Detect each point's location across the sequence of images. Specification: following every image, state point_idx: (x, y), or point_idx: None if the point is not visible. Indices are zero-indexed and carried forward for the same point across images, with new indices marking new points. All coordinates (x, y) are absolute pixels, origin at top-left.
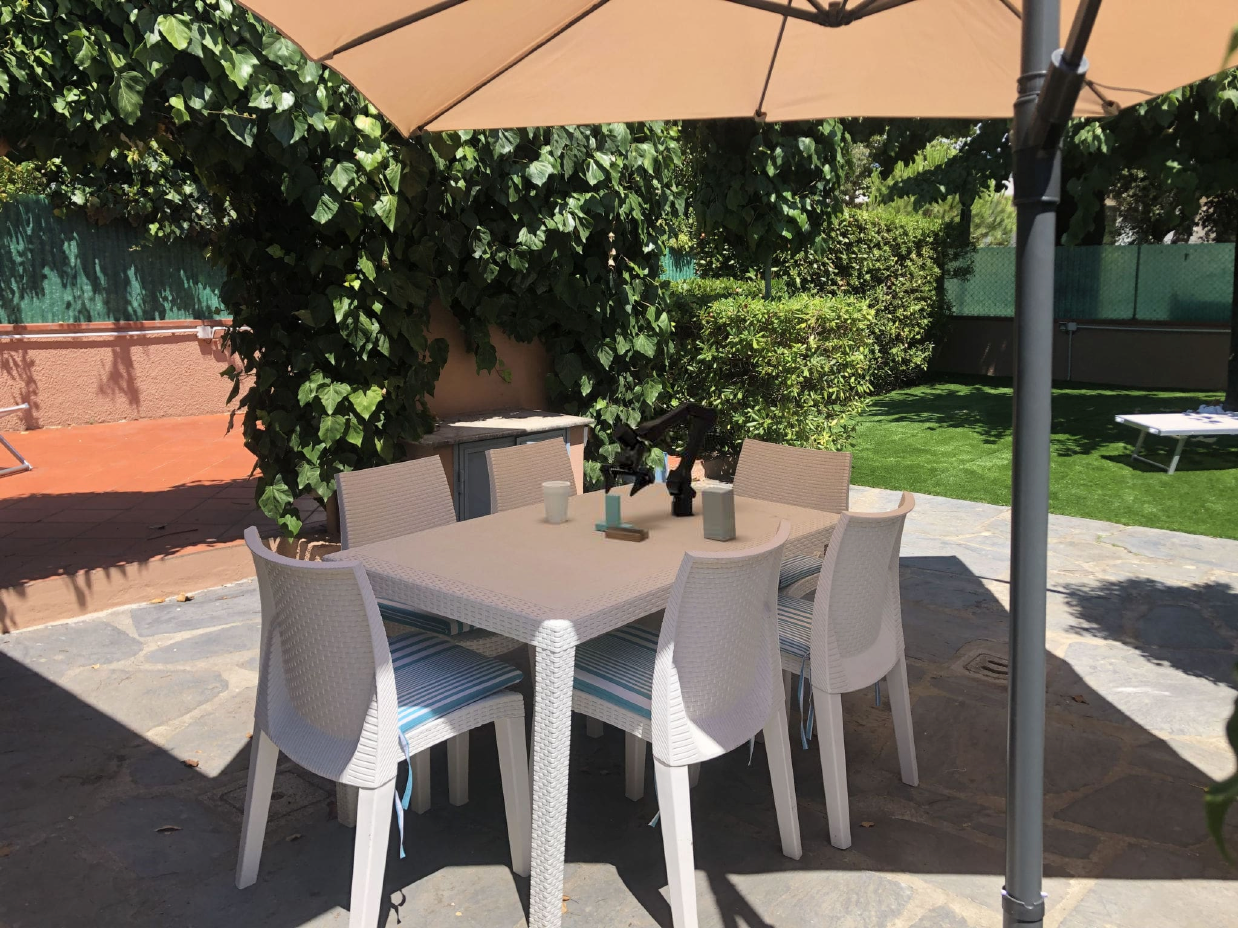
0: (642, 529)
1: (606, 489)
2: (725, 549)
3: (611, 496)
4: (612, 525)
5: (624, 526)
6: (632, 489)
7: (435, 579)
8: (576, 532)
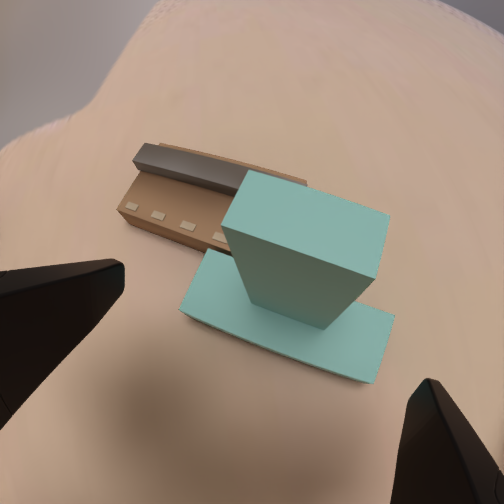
0: (138, 155)
1: (440, 400)
2: (2, 157)
3: (315, 195)
4: None
5: (225, 271)
6: (62, 271)
7: (446, 9)
8: (445, 272)
